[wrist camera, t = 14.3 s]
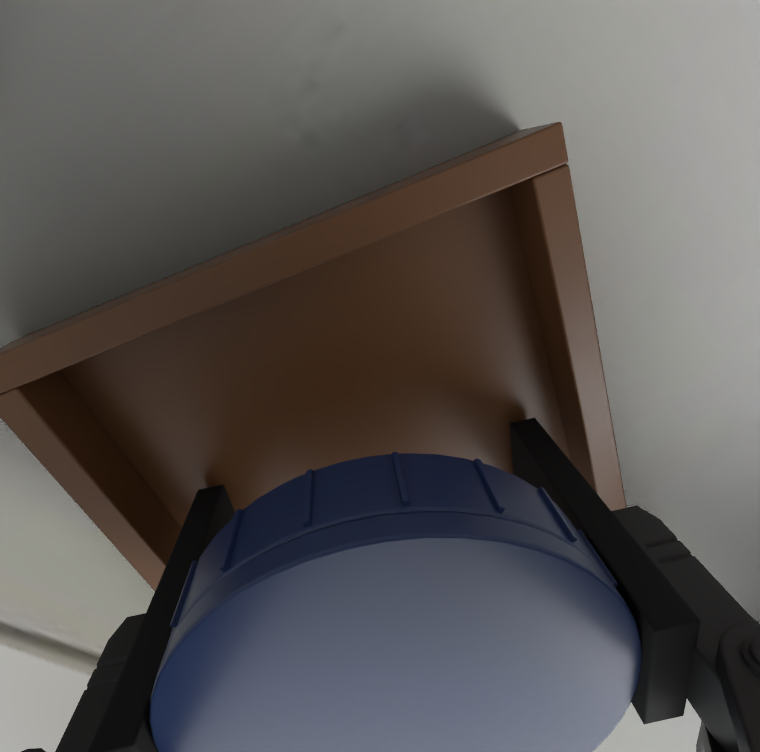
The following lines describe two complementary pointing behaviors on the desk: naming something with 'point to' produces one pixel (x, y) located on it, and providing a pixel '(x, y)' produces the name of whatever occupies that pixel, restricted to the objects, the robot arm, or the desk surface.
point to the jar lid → (397, 620)
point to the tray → (330, 351)
